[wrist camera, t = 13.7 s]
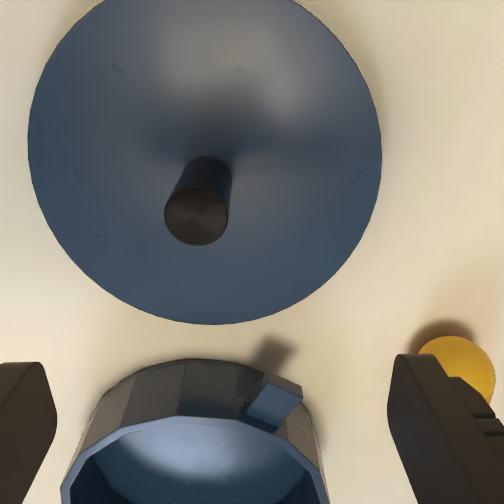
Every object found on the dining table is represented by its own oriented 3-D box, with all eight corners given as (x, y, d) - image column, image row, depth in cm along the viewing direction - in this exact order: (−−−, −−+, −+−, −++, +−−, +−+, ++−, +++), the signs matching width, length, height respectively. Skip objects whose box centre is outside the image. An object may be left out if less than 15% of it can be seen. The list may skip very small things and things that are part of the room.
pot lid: (-5, 233, 24) (-87, 292, 18) (114, -117, 17) (46, -206, 12) (267, 356, 28) (273, 437, 22) (447, 109, 22) (524, 130, 16)
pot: (45, 499, 34) (14, 567, 30) (161, 288, 26) (143, 338, 21) (231, 558, 38) (229, 626, 33) (384, 391, 30) (408, 451, 25)
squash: (447, 439, 32) (477, 497, 28) (386, 440, 32) (408, 498, 28) (479, 321, 27) (521, 369, 23) (408, 321, 27) (438, 370, 23)
